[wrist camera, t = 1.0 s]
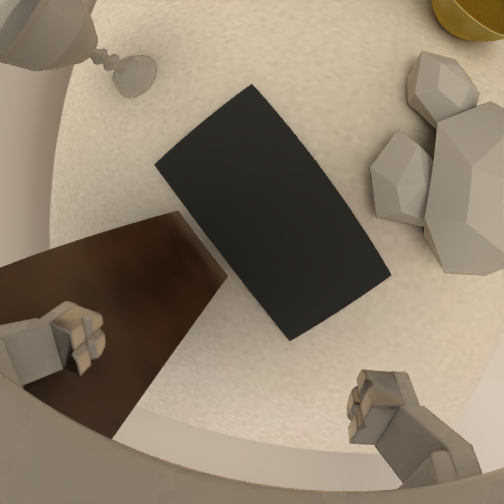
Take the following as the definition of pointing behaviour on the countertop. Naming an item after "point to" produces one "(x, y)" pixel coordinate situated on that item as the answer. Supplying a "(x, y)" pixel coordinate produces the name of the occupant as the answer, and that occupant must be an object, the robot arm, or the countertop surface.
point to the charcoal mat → (273, 214)
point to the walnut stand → (116, 309)
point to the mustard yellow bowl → (471, 18)
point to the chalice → (64, 42)
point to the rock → (448, 170)
